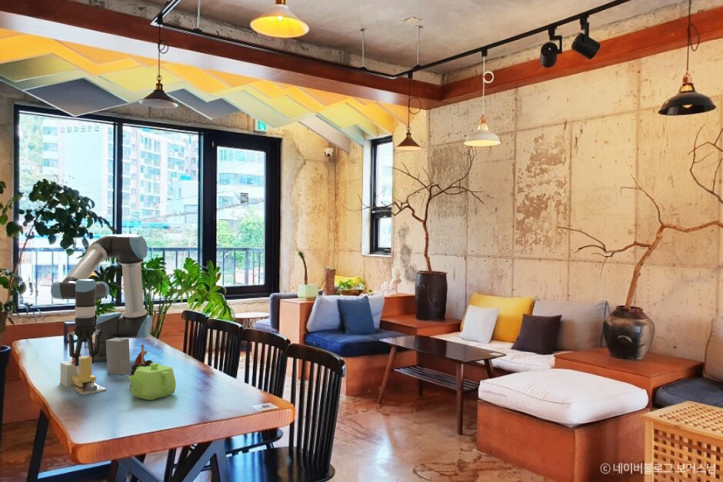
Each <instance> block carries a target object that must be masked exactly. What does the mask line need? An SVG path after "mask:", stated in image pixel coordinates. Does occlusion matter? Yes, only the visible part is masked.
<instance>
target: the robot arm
mask: <svg viewBox="0 0 723 482" xmlns="http://www.w3.org/2000/svg"><path fill="white" fill-rule="evenodd" d="M147 255H148V244H147V242H146V239H145V238H144V237H143V236H142V235H138V234H107V235H104V236H101V237H100V238H98V239H96V240H95V241H94V242H92V243H91V244H90V245H89V246H88V247H87V249H86V253H85V254H84V255H83V256H82V257H81V259H80V260H79V261H78V262H77V264H76V265H75V266H74V267H73V269H72V270H71V271H70V272H69V274H67V276H66V277H65V278H64V279H63V281H60V280H59V281H54V282H53V283H52V284H51V287H50V294H51V296H52V298H53V299H57V300H75V305H74V307H75V308H74V316H75V317H74V329H73V331H71V332H70V333H67V334H66V337H67V338H68V350H69V351H68V352H69V353H68V354H69V355H68V356H69V357H71V359H72V358H74V365H75V366H77V374H81V358H79V356H80V354H81V351H82V345H83V342H84V340H86V341H87V342H86V343H87V349H88V353H89V355H87V356H88V357H91V372H92V373H93V364H95V362H107V354H106V340H109V339H113V338H126V339H146V338H147V337H148V336H149V334H150V333H151V331H152V326H153V317H152V316H151V315H149V314H148V310H146V309H145V307H144V294H143V293H144V292H143V279H142V278H143V277H142V267H141V266H142V265H141V264H142V263H144V259H146V257H147ZM107 259H118V261H117V262H118V264H119V265H121V270H122V282H123V293H124V307H125V311H124V312H121V311H116V312H108V313H103V314H99V315H98V316H97V317H95V316H96V301H97V300H103V299H105V298H106V297H107V296H108V295H109V293H110V287H109V285H108V283H106V282H105V281H96V280H95V279H94V278H93V279H92V278H90V277H91V275H92V274H94V272H95V270H96V269H97V267H99V266H100V264H101V263H103V262H105V261H106V260H107ZM93 335H94V343H93ZM75 336H76V337H77V338H76V345H75V339H74V338H75Z"/></svg>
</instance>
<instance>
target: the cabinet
mask: <svg viewBox="0 0 723 482" xmlns="http://www.w3.org/2000/svg"><path fill="white" fill-rule="evenodd" d="M91 374H92V375H93V371H92V372H91ZM77 375H78V374H77V366H75V365H74V364H72V360H68V361H67V360H66V361H62V362H60V375H59V376H60V379H59V380H60V382H59V383H60V384H61V385H63V386H64V387H66V388H69V385H75V384H74V381H73V380H72V376H77Z"/></svg>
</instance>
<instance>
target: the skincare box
mask: <svg viewBox="0 0 723 482" xmlns="http://www.w3.org/2000/svg"><path fill="white" fill-rule="evenodd" d="M106 354H107V361H106V369H107V371H106V372H107V373H106V374H110V375H118V376H119V375H120V376H121V375H124V374H128V373H131V355H130V338H113V339H109V340H106Z"/></svg>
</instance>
